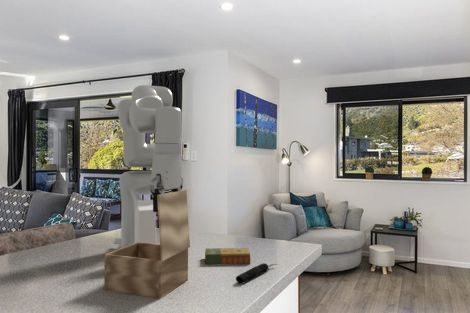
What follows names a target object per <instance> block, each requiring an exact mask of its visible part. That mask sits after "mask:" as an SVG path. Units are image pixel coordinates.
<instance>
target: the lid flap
mask: <svg viewBox="0 0 470 313" xmlns="http://www.w3.org/2000/svg"><path fill="white" fill-rule="evenodd" d="M187 191H188V190H187V189H183V190H181V191H176V192H171V191H170V192H166V193H165V192H164V194H160V195H157V201H158V212H157V213H158V216H157V217H158V227H159V228H158V230H159V231H158V232H159V244H160V252H161V261H164V260H165V259H167V258H169V257H171V256H173V255H175V254H177V253H179V252H181V251H183V250H185V249H187V248H188V249H189V248H190V247H191V245H190V244H191V243H190V227H189V226H190V225H189V224H190V223H189V210H188V207H189V206H188V194H187Z"/></svg>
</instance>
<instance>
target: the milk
mask: <svg viewBox="0 0 470 313" xmlns="http://www.w3.org/2000/svg"><path fill="white" fill-rule="evenodd" d="M156 228H157V212H153V199H142V200H138V201H137V206H136V208H135V243H137V242H141V243H151V244H157V243H156V242H157V241H156V238H157V237H156V235H157V234H156V232H157V231H156V230H157V229H156Z"/></svg>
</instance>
